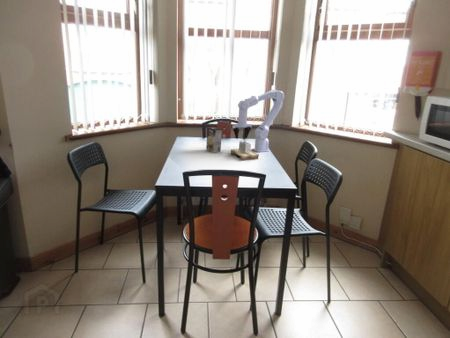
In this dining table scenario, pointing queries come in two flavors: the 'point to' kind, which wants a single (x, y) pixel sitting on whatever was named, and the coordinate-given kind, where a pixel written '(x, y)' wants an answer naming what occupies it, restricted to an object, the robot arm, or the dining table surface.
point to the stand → (245, 156)
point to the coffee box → (214, 139)
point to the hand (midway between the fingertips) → (241, 138)
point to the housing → (244, 147)
